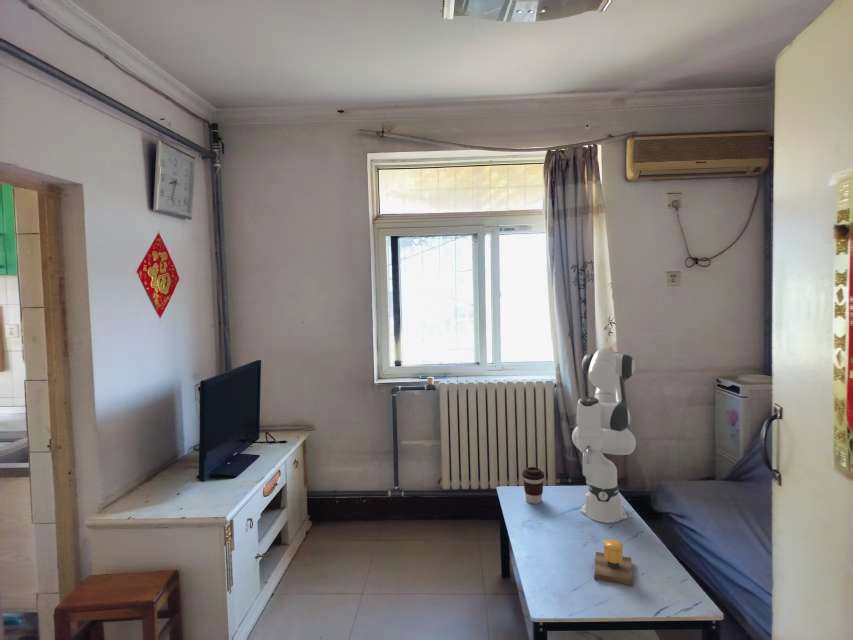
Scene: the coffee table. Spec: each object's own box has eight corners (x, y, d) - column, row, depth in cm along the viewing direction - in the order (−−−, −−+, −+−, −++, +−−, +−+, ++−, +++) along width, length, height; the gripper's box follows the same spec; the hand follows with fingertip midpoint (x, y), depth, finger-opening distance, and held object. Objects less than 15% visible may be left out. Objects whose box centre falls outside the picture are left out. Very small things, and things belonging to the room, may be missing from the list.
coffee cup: (540, 507, 216) (539, 475, 215) (519, 502, 221) (519, 471, 220) (547, 498, 224) (547, 467, 223) (527, 494, 230) (526, 464, 228)
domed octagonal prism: (603, 551, 171) (603, 538, 171) (622, 554, 169) (622, 541, 168) (603, 561, 165) (603, 547, 165) (622, 564, 163) (622, 550, 163)
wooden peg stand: (595, 557, 176) (595, 533, 175) (631, 562, 172) (631, 538, 171) (594, 579, 163) (594, 554, 162) (632, 586, 159) (632, 560, 158)
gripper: (597, 452, 164) (597, 491, 165) (599, 434, 183) (599, 469, 184) (578, 451, 166) (578, 489, 167) (582, 433, 185) (582, 467, 186)
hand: (589, 478), depth 175 cm, fingers open, 8 cm apart
